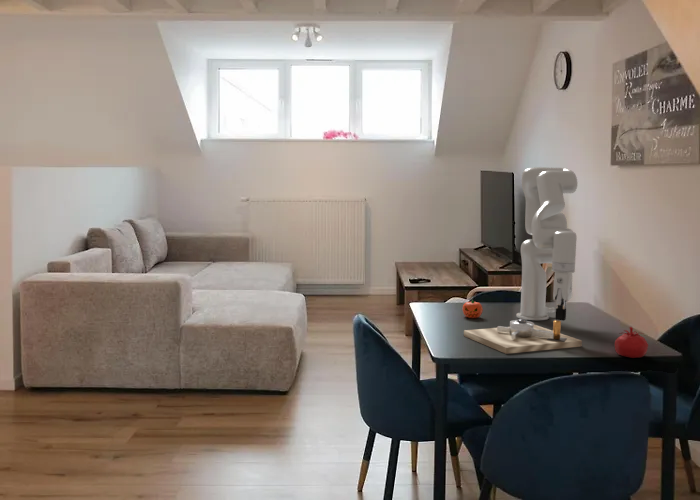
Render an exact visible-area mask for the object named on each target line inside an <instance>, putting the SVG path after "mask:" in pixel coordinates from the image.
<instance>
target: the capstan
mask: <svg viewBox="0 0 700 500" xmlns="http://www.w3.org/2000/svg"><path fill="white" fill-rule="evenodd" d="M552 323H553V326H552V331H553V332H552V331H544V330H536V329H534V325H535V322H534V321H532V320H526V319H520V318H517V319H515V320H510V321H509V326H503V325H502V326H501V325H497V327H496V328H497V331H500V332H507V333H510V334H511V338H512V339H516V338H518V337H520V336H521V337H528V336H536V337H544V338H551V339H560V333H561V332H562V331H561V327H562V326H561V325H562V320H556V319H555V320H553V322H552Z"/></svg>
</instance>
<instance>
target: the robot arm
mask: <svg viewBox="0 0 700 500" xmlns="http://www.w3.org/2000/svg"><path fill="white" fill-rule="evenodd" d="M577 178H578V177H577V175H576V173H575V172H574V171H573V170H571V169H570V168H569V169H568V168H567V167H542V166H538V167H537V166H535V167H528V168H526V169H524V170H523V172H522V174H521V187H522V192H523V193H524V194H523V195H524V197H525V198H524V199H525V214H524V217H525V218H524V219H525V220H524V221H525V222H524V223H525V224H524V226H525V227H524V228H525V232H526V233H527V234H528V235H530V236H532V238H529V239H526V240H524V241H523V242H522V243H521V245H520V256H521V289H520V290H521V291H520V311H519V312H517V313H516V318H517V319H526V321H547V320H548V319H550V316H549V313H555V318H554V319H555V320H559V321H563V322H565V320H567V318H566V317H567V302H569V301H570V300H571V299H572V297H573V273H574V274H575V272H576V271H575V270H576V255H577V254H576V253H577V238H578V237H577V233H576V232H574V231H573V229H571V228H568V221H567V216H566V215H565V214H564V213H563V210H564V209H565V207H566V202H565V198H564V194H574V193H575V192H576V191H577V188H578V179H577ZM541 264H551V272H554V277H553V279H554V280H553V294H552V295H553V297H552V298H553V300H554V301H555V303H556V304H555V305H556V307H548V306H546V299H547V297H546V296H547V277H548V276H547V272H546V271H545V269H544V268H543V266H541Z"/></svg>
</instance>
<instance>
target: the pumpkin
mask: <svg viewBox="0 0 700 500" xmlns="http://www.w3.org/2000/svg"><path fill="white" fill-rule="evenodd" d="M483 309H484V308H483V305H482V304H481V303H480V302H476V301H474V300H473V299H471V301H466V302H465V303H464V304H463V305H462V313H463V315H464V316H465V317H466V318H468V319H477V318H480V317H481V315H482V313H483Z"/></svg>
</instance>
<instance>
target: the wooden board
mask: <svg viewBox="0 0 700 500" xmlns="http://www.w3.org/2000/svg"><path fill="white" fill-rule="evenodd" d="M534 329H536V330H544V331H552V332H553V329H552V330H551V329H549V328H546V327H542V326H541V325H537V324H534ZM463 337H465V338H468V339H470V340H472V341H475V342H477V343H479V344H482V345H484V346H487V347H489V348H490V349H491V348H492V349H493V350H496V351H498V352H501V353H502V354H506V355H507V354H519V353H526V352H528V353H529V352H538V351H539V352H540V351H548V350H557V349H569V348H579V347H582V346H583V344H582V343H583V340H582V339H578V338H575V337H572V336H569V335H567V334H563V333H561V332H560V339H551V338H544V337H536V336H528V337H521V336H520V337H518V338H516V339H512V338H511V334H510V333H507V332H500V331H497V327H491V328H490V327H488V328H479V329H467V330H466V329H464V330H463Z"/></svg>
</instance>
